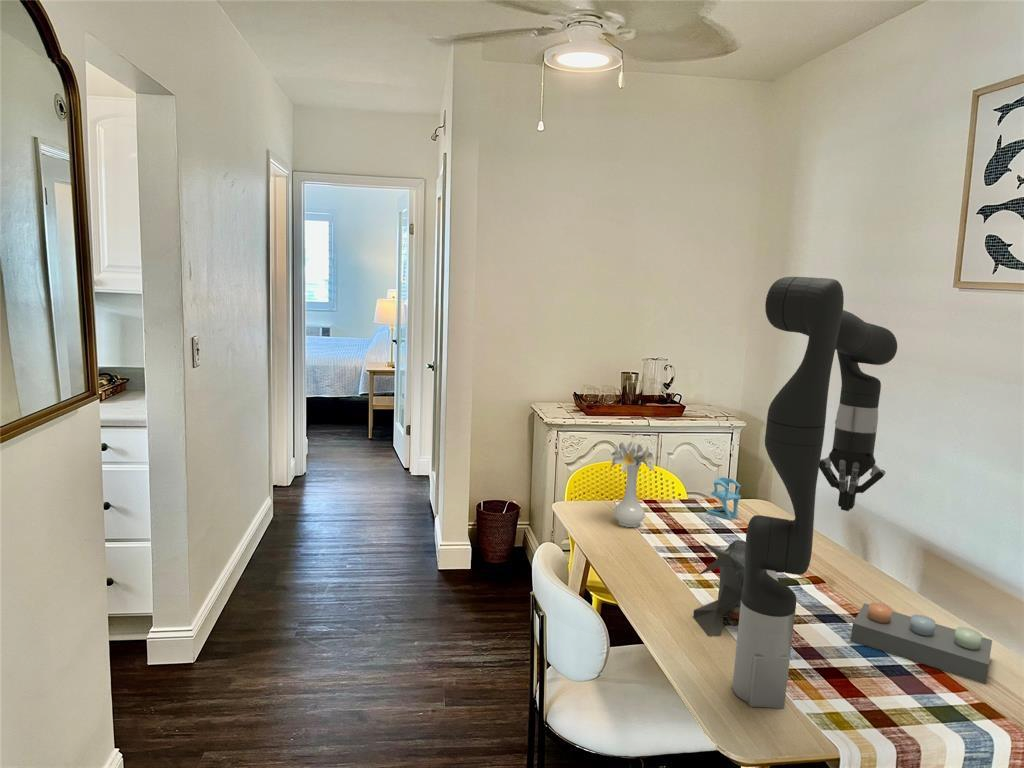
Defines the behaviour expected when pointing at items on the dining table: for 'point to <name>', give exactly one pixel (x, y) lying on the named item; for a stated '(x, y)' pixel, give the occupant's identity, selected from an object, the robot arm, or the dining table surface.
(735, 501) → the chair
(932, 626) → the slate button
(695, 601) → the dining table surface
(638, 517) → the flower vase
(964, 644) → the sage button
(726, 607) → the grey finned figurine
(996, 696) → the dining table surface
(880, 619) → the terracotta button
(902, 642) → the console
